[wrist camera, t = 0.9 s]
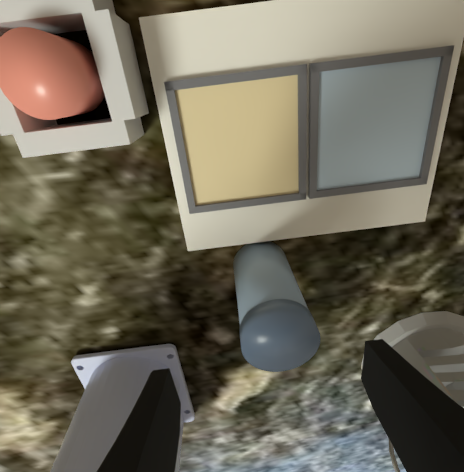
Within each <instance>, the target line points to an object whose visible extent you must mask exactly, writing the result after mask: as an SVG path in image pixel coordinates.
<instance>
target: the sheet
mask: <svg viewBox="0 0 464 472" xmlns="http://www.w3.org/2000/svg"><path fill="white" fill-rule="evenodd" d="M139 22H140V26H141V31H142V36H143V41H144V45H145V50H146V55H147V60H148V64H149V69H150V74H151V79H152V83H153V88H154V93H155V98H156V102H157V107H158V112H159V117H160V121H161V126H162V131H163V136H164V140H165V145H166V150H167V155H168V159H169V164H170V169H171V174H172V178H173V183H174V188H175V193H176V197H177V202H178V207H179V212H180V216H181V221H182V226H183V231H184V235H185V240H186V245H187V250H188V251H194V250H202V249H210V248H218V247H226V246H234V245H242V244H250V243H258V242H266V241H274V240H282V239H290V238H298V237H305V236H313V235H321V234H329V233H337V232H345V231H353V230H361V229H369V228H377V227H385V226H393V225H401V224H409V223H417V222H425V219H426V215H427V210H428V205H429V200H430V196H431V191H432V186H433V181H434V177H435V172H436V167H437V162H438V157H439V153H440V148H441V143H442V138H443V134H444V129H445V124H446V119H447V115H448V110H449V105H450V100H451V96H452V91H453V86H454V81H455V77H456V72H457V67H458V62H459V57H460V53H461V48H462V43H463V38H464V0H272V1H264V2H256V3H248V4H241V5H233V6H225V7H217V8H209V9H201V10H193V11H185V12H178V13H170V14H162V15H154V16H146V17H139Z"/></svg>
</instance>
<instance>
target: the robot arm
mask: <svg viewBox="0 0 464 472" xmlns="http://www.w3.org/2000/svg"><path fill="white" fill-rule="evenodd" d="M169 354H172V355H169ZM71 364H72V366H73V367H74V369H75V371H76V373H77V375H78V377H79V379H80V381H81V383H82V384H83V386H84V388H85V391H84V393H83V396H82V398H81V400H80V403H79V405H78V407H77V410H76V412H75V414H74V417H73V419H72V422H71V424H70V426H69V429H68V431H67V433H66V436H65V438H64V440H63V443H62V445H61V447H60V450H59V452H58V454H57V457H56V459H55V462H54V464H53V466H52V469H51V471H50V472H179V467H180V456H181V445H182V434H183V423H184V422H191V421H193V420H194V418H195V413H194V410H193V406H192V403H191V399H190V396H189V392H188V388H187V385H186V381H185V378H184V374H183V371H182V367H181V364H180V360H179V357H178V353H177V349H176V347H175V346H174V345H173V344H163V345H155V346H147V347H139V348H131V349H123V350H115V351H107V352H99V353H91V354H83V355H76V356H74V357H73V359H72V361H71ZM361 379H362V382H363V385H364V387H365V390H366V392H367V395H368V397H369V400H370V402H371V404H372V407H373V409H374V411H375V413H376V415H377V417H378V419H379V421H380V422H381V424H382V426H383V428H384V430H385V432H386V434H387V436H388V438H389V439H390V441H391V443H392V445H393V447H394V449H395V451H396V453H397V454H398V456H399V458H400V460H401V462H402V464H403V466H404V468H405V469H406V471H407V472H464V408H463V407H461V406H460V405H459V404H457V403H456V402H455V401H454V400H452V399H451V398H450V397H449V396H448V395H446V394H445V393H444V392H443V391H442V390H440V389H439V388H438V387H437V386H436V385H434V384H433V383H432V382H431V381H430V380H428V379H427V378H426V377H425V376H424V375H423V374H421V373H420V372H419V371H418V370H417V369H416V368H414V367H413V366H412V365H411V364H410V363H409V362H408V361H407V360H405V359H404V358H403V357H402V356H401V355H400V354H399V353H398V352H396V351H395V350H394V349H393V348H392V347H391V346H390V345H389V344H388V343H386V342H385V341H384V340H383V339H379V340H371V341H365V350H364V358H363V367H362V376H361Z"/></svg>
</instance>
